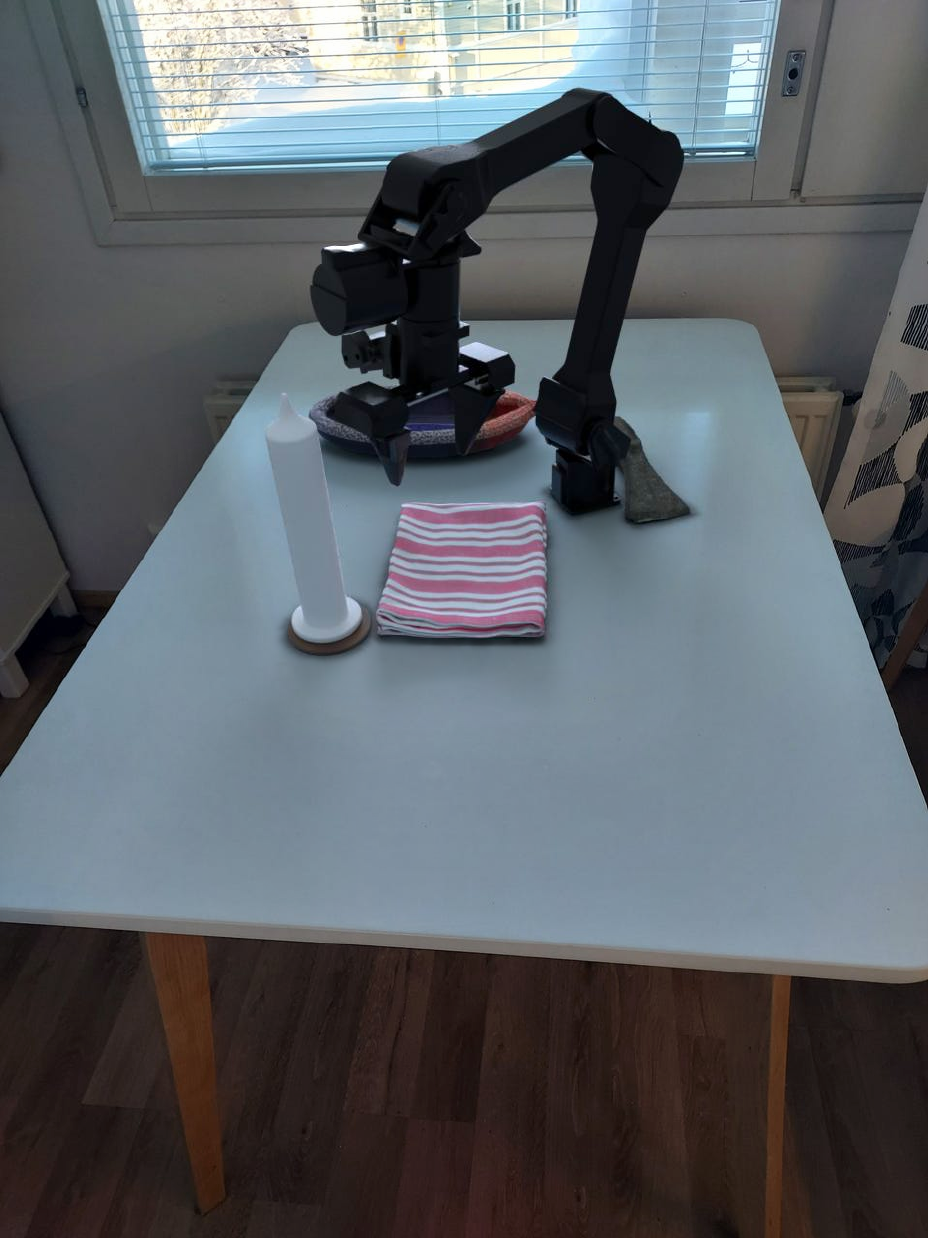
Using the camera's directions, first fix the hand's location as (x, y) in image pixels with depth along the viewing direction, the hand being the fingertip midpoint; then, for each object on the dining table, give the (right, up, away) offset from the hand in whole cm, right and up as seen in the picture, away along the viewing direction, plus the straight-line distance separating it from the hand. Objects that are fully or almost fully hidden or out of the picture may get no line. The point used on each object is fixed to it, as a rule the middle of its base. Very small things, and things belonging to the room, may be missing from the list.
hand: (429, 469), depth 92 cm
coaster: (-10, -16, +2) cm, 19 cm away
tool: (+25, +3, +21) cm, 33 cm away
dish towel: (+4, -10, +8) cm, 13 cm away
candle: (-10, -15, +2) cm, 19 cm away
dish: (-1, +9, +31) cm, 32 cm away
